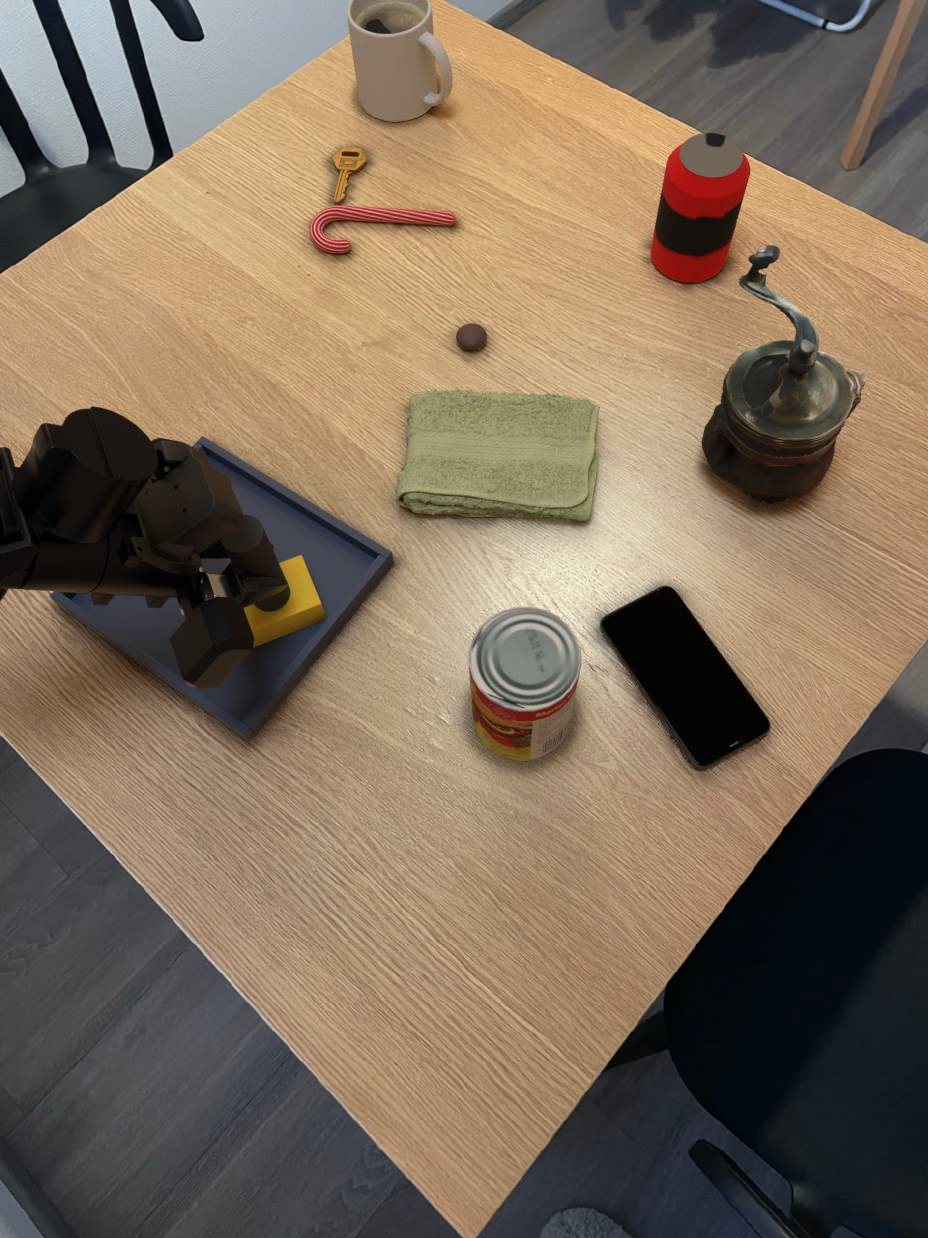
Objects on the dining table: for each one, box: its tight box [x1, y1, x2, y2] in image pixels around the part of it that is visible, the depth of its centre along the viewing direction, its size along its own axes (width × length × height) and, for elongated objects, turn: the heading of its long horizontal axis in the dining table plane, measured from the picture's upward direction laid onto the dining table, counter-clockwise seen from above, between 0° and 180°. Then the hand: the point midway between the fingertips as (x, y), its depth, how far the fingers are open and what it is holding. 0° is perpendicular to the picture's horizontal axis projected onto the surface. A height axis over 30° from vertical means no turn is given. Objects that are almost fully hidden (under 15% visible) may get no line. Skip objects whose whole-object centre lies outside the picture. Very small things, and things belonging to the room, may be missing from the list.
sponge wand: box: [220, 515, 327, 648], centre depth 76 cm, size 7×5×13 cm
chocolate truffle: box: [455, 322, 488, 351], centre depth 94 cm, size 3×3×2 cm
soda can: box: [650, 132, 751, 283], centre depth 93 cm, size 8×8×12 cm
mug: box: [346, 0, 454, 123], centre depth 105 cm, size 11×10×10 cm
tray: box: [49, 435, 395, 743], centre depth 83 cm, size 20×22×2 cm
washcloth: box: [395, 388, 601, 523], centre depth 87 cm, size 13×18×3 cm
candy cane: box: [308, 204, 457, 254], centre depth 100 cm, size 6×15×2 cm, turn 84°
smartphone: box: [599, 585, 772, 771], centre depth 79 cm, size 7×1×15 cm
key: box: [331, 146, 368, 204], centre depth 104 cm, size 4×8×1 cm, turn 173°
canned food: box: [468, 606, 582, 762], centre depth 73 cm, size 8×8×12 cm
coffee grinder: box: [701, 244, 868, 506], centre depth 80 cm, size 13×15×18 cm
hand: (278, 567), depth 77 cm, fingers closed on sponge wand, 3 cm apart
